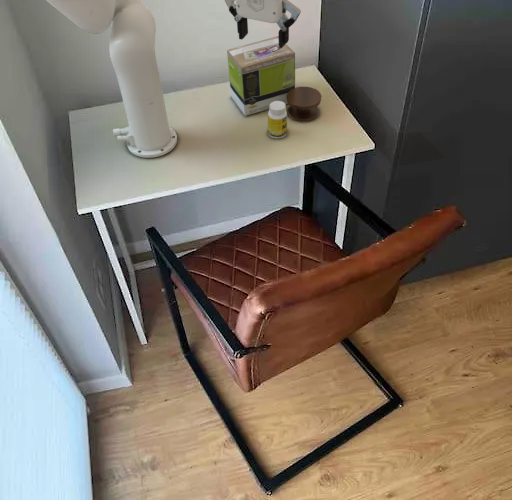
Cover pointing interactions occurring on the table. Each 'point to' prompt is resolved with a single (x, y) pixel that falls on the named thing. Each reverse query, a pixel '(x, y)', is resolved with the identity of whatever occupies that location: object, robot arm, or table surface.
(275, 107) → the supplement bottle
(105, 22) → the robot arm
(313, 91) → the stand
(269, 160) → the table surface
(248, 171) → the table surface
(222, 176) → the table surface
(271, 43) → the tea box
